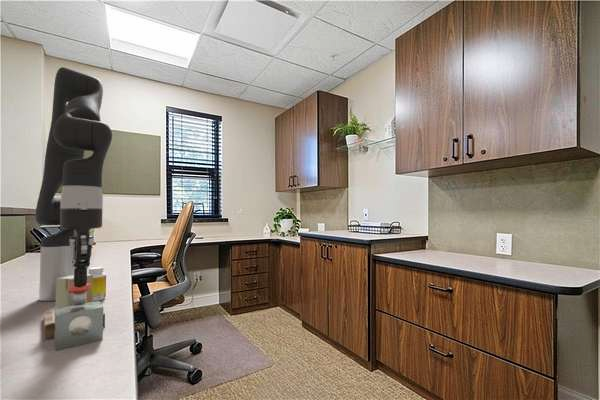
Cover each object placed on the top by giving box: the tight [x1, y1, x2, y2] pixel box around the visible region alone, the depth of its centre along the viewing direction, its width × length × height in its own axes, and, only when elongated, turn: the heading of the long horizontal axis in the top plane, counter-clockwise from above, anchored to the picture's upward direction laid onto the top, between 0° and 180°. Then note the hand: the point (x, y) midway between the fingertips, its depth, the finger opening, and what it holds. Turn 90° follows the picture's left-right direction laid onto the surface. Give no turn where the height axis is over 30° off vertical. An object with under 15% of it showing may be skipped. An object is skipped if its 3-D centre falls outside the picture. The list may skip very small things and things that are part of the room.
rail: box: [43, 309, 106, 341], centre depth 73 cm, size 18×11×3 cm, turn 42°
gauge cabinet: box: [53, 300, 104, 352], centre depth 63 cm, size 6×8×7 cm
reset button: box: [68, 283, 91, 306], centre depth 64 cm, size 4×4×4 cm
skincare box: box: [53, 273, 93, 323], centre depth 72 cm, size 6×4×12 cm
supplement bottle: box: [88, 266, 107, 302], centre depth 94 cm, size 6×6×10 cm
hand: (80, 285), depth 64 cm, fingers closed
